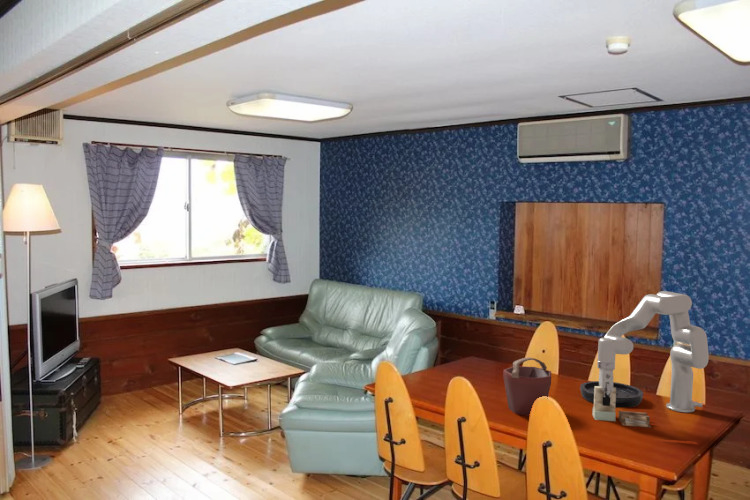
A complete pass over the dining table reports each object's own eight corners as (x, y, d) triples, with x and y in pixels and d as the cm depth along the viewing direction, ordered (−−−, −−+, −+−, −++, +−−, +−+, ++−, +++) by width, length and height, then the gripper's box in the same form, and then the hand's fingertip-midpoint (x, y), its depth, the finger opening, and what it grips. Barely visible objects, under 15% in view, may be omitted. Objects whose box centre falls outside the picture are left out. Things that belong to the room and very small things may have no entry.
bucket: (518, 420, 285) (520, 366, 283) (491, 405, 305) (492, 355, 304) (561, 414, 295) (563, 361, 293) (532, 400, 315) (534, 351, 313)
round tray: (583, 406, 308) (648, 411, 302) (584, 394, 308) (649, 399, 302) (576, 389, 338) (635, 393, 332) (577, 378, 337) (636, 382, 331)
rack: (645, 422, 286) (646, 412, 286) (651, 429, 276) (651, 419, 276) (618, 420, 288) (618, 410, 288) (622, 427, 278) (623, 417, 278)
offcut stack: (645, 424, 280) (646, 416, 280) (647, 426, 277) (648, 419, 277) (624, 422, 281) (625, 415, 281) (626, 425, 278) (626, 417, 278)
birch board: (613, 417, 289) (615, 387, 288) (614, 419, 286) (616, 388, 285) (593, 415, 290) (594, 386, 289) (594, 417, 288) (595, 387, 287)
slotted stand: (612, 417, 291) (612, 408, 291) (615, 423, 284) (616, 413, 283) (591, 416, 293) (592, 406, 293) (594, 421, 285) (595, 412, 285)
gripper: (618, 370, 277) (616, 409, 279) (611, 361, 294) (609, 397, 296) (601, 369, 279) (599, 408, 280) (594, 360, 296) (592, 396, 297)
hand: (604, 402), depth 288 cm, fingers open, 8 cm apart
